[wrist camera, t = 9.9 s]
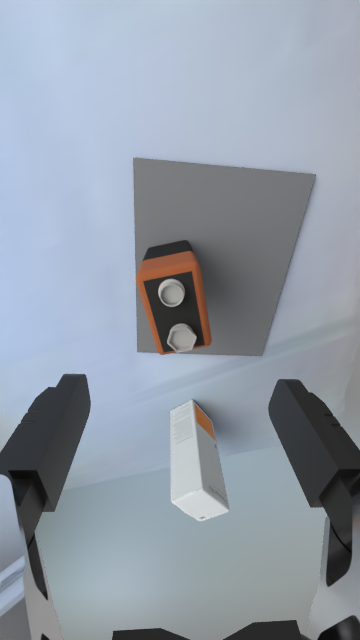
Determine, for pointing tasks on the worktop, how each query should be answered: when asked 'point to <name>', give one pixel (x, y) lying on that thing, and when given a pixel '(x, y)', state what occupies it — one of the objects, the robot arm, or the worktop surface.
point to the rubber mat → (222, 241)
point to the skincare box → (195, 464)
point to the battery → (174, 298)
